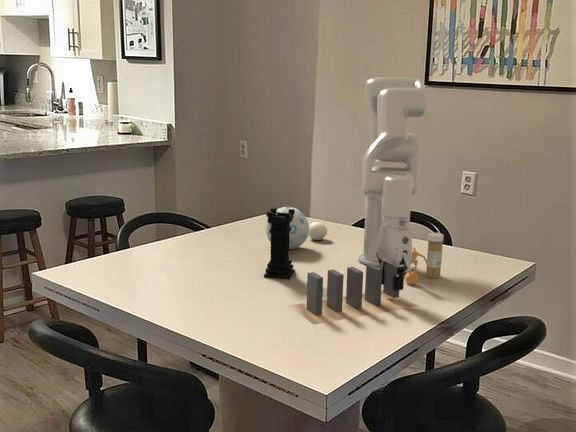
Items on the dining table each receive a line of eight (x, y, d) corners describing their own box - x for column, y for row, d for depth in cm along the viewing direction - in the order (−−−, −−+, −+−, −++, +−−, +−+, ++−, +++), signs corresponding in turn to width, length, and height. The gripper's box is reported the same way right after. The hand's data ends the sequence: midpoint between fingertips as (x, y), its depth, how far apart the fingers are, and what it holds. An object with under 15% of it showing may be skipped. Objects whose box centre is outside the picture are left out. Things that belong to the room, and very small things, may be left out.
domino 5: (388, 291, 181) (390, 256, 178) (399, 297, 176) (401, 261, 174) (383, 292, 180) (384, 257, 178) (393, 298, 175) (395, 262, 173)
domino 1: (312, 308, 171) (313, 272, 168) (321, 314, 166) (323, 277, 164) (306, 309, 170) (307, 272, 168) (315, 316, 165) (316, 278, 163)
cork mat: (388, 291, 186) (388, 289, 186) (418, 307, 174) (418, 305, 174) (288, 306, 172) (288, 305, 172) (313, 325, 160) (313, 324, 160)
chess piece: (289, 279, 195) (291, 214, 190) (263, 277, 196) (264, 212, 192) (294, 271, 203) (296, 209, 198) (269, 269, 204) (270, 207, 200)
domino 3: (351, 302, 176) (353, 266, 174) (361, 308, 171) (363, 271, 169) (345, 303, 175) (347, 267, 173) (355, 309, 171) (357, 272, 168)
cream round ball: (323, 243, 236) (323, 225, 235) (304, 240, 239) (305, 222, 238) (330, 239, 242) (330, 221, 241) (312, 236, 245) (312, 219, 244)
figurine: (425, 283, 193) (428, 244, 191) (426, 290, 188) (428, 250, 185) (397, 281, 195) (399, 243, 192) (396, 288, 189) (399, 248, 186)
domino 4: (370, 299, 178) (371, 264, 176) (380, 304, 174) (382, 269, 172) (364, 299, 178) (366, 264, 175) (374, 305, 173) (376, 270, 171)
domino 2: (332, 305, 173) (333, 269, 171) (342, 311, 169) (343, 274, 167) (326, 306, 172) (327, 270, 170) (336, 312, 168) (337, 275, 166)
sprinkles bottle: (435, 273, 204) (438, 231, 201) (443, 277, 200) (446, 235, 197) (422, 274, 202) (425, 232, 199) (430, 279, 198) (433, 236, 195)
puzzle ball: (258, 251, 224) (258, 209, 220) (276, 241, 237) (276, 201, 234) (299, 257, 218) (300, 213, 215) (314, 246, 232) (316, 205, 228)
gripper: (426, 227, 168) (422, 294, 172) (388, 214, 183) (385, 276, 187) (402, 230, 165) (398, 298, 168) (365, 216, 179) (363, 279, 183)
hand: (391, 286), depth 177 cm, fingers closed on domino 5, 4 cm apart
